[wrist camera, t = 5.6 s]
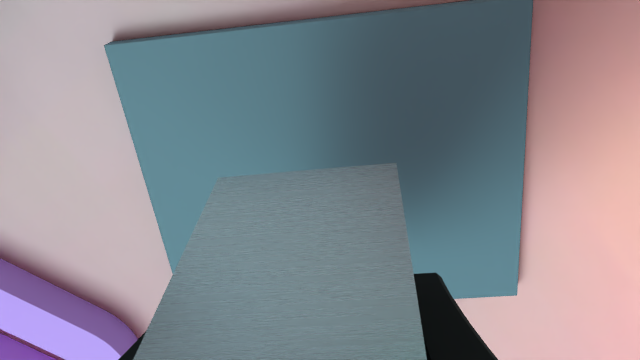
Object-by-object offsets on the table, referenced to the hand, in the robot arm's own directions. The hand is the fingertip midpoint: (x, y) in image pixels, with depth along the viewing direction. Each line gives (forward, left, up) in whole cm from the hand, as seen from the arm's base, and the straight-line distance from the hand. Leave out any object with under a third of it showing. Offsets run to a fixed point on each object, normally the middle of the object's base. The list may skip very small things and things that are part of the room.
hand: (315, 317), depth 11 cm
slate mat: (0, 0, -7) cm, 7 cm away
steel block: (0, 0, -2) cm, 2 cm away
